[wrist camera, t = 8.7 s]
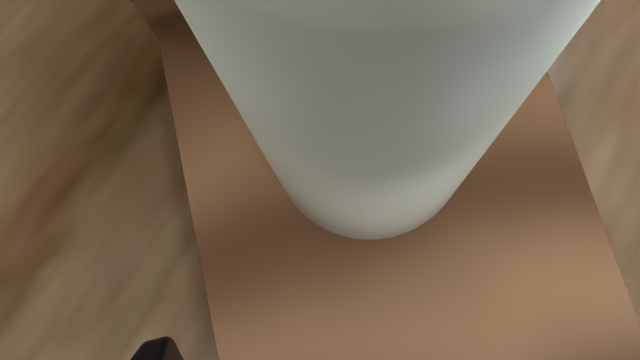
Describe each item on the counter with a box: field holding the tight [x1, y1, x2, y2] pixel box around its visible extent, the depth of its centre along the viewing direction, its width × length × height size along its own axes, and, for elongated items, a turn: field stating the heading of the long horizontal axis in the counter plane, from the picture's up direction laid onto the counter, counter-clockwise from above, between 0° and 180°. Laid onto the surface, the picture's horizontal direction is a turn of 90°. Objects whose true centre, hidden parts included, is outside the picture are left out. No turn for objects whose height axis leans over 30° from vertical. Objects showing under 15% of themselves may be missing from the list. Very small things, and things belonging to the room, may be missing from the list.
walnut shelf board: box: [131, 0, 640, 360], centre depth 17 cm, size 20×12×6 cm, turn 14°
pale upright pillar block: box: [174, 0, 601, 240], centre depth 12 cm, size 6×6×13 cm
